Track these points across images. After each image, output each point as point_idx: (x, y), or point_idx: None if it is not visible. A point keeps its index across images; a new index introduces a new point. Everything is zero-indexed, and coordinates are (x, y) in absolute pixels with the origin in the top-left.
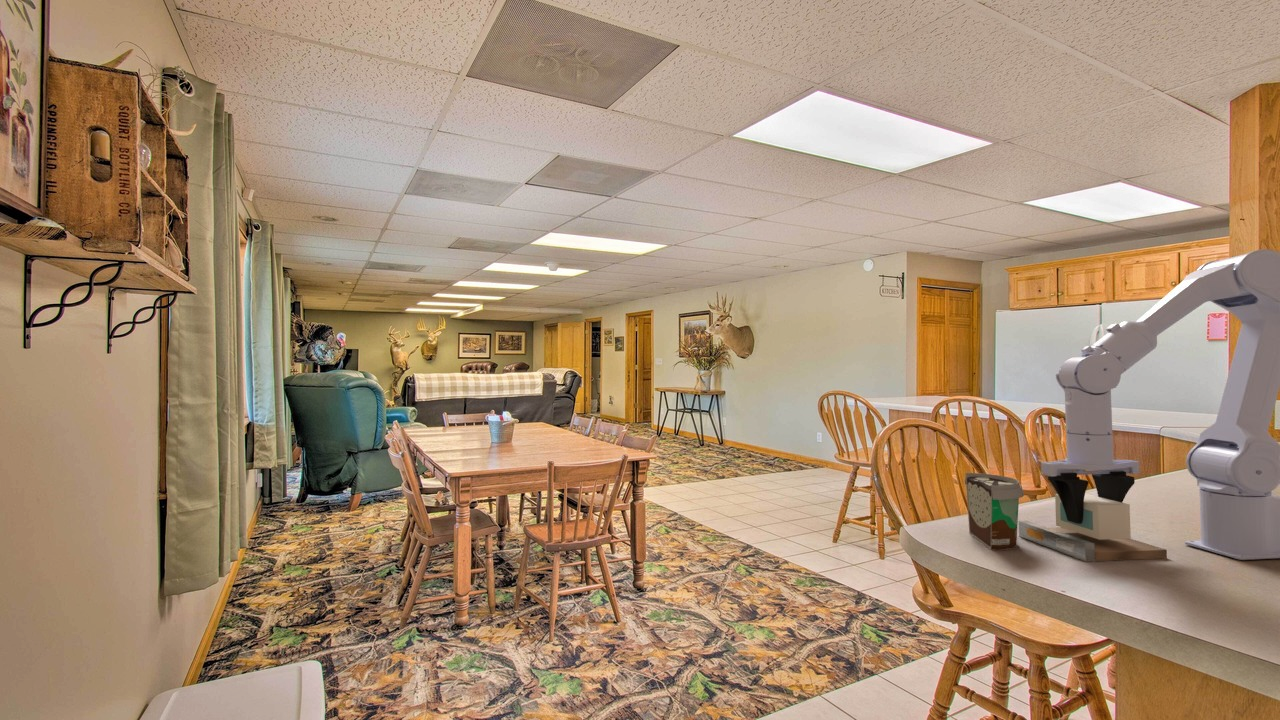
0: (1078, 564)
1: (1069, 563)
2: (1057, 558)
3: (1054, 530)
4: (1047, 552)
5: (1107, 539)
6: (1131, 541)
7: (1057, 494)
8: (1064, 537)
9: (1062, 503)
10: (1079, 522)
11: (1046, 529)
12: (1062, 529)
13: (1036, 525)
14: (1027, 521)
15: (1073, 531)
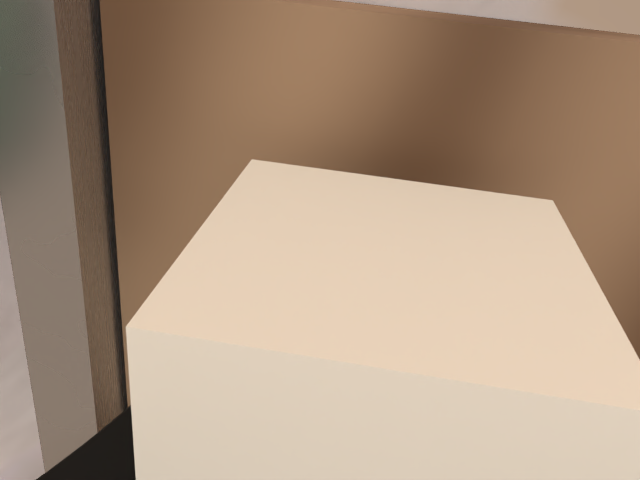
0: (44, 470)
1: (14, 452)
2: (6, 394)
3: (75, 316)
4: (17, 316)
5: None
6: None
7: (155, 342)
8: (40, 428)
9: (84, 449)
10: None
11: (38, 278)
12: (385, 90)
13: (32, 167)
14: (38, 21)
15: (414, 170)
